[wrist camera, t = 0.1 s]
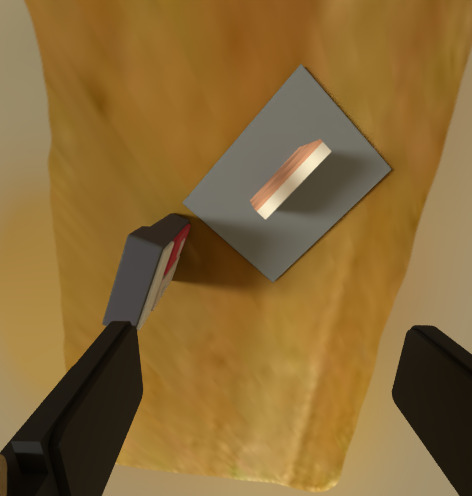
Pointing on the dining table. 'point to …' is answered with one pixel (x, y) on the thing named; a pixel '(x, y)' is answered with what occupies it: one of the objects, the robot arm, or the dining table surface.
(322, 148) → the tile
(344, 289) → the dining table surface
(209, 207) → the mat
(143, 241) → the grey and red box
